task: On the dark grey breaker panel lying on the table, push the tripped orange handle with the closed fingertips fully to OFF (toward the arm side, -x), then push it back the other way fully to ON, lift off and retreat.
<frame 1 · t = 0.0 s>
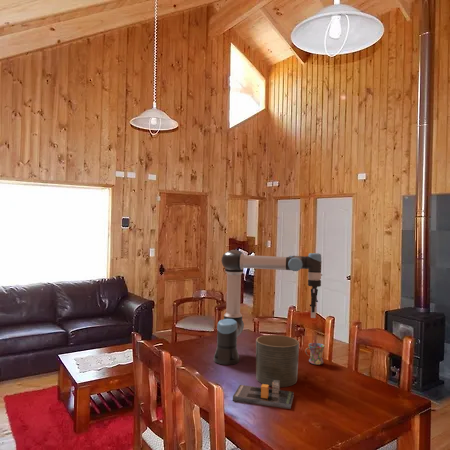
hand: (313, 315, 233), 28 cm above the table, fingers open, 13 cm apart
panel: (263, 398, 182), on the table
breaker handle: (264, 391, 178), point 5 cm above the table, slide at 1.0 cm
mug: (314, 363, 232), on the table
planter: (276, 379, 206), on the table
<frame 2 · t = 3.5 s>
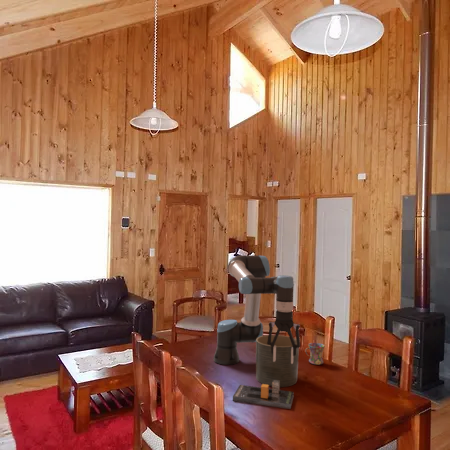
hand: (283, 361, 176), 19 cm above the table, fingers open, 7 cm apart
nothing on the table moved.
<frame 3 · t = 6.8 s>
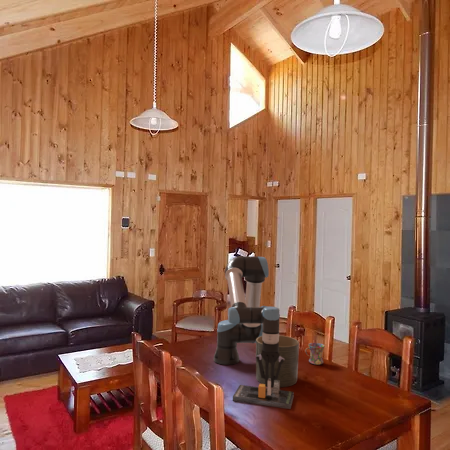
hand: (269, 394, 178), 4 cm above the table, fingers closed
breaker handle: (262, 390, 179), point 5 cm above the table, slide at -0.2 cm, touching gripper
everything else where it was.
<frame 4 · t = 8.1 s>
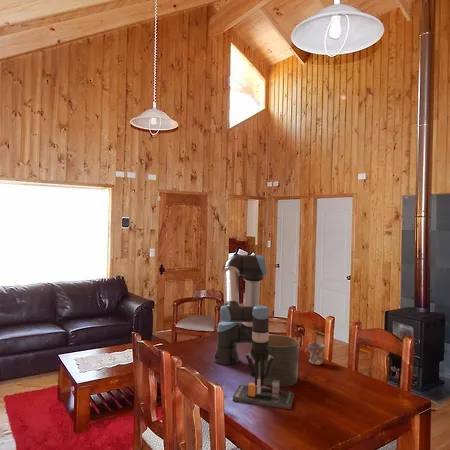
hand: (259, 392, 179), 4 cm above the table, fingers closed
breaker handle: (252, 389, 180), point 5 cm above the table, slide at -4.9 cm, touching gripper
everything else where it was.
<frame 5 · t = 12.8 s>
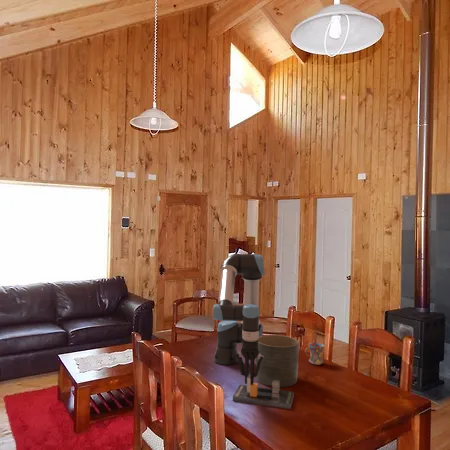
hand: (249, 390, 180), 4 cm above the table, fingers closed
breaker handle: (253, 389, 180), point 5 cm above the table, slide at -4.0 cm, touching gripper
everything else where it was.
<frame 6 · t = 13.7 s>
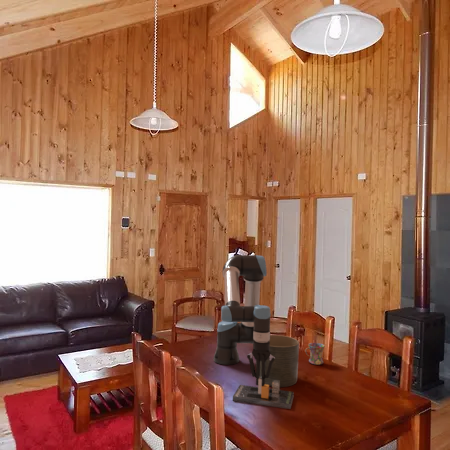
hand: (260, 392, 179), 4 cm above the table, fingers closed
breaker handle: (265, 391, 178), point 5 cm above the table, slide at 1.2 cm, touching gripper
everything else where it was.
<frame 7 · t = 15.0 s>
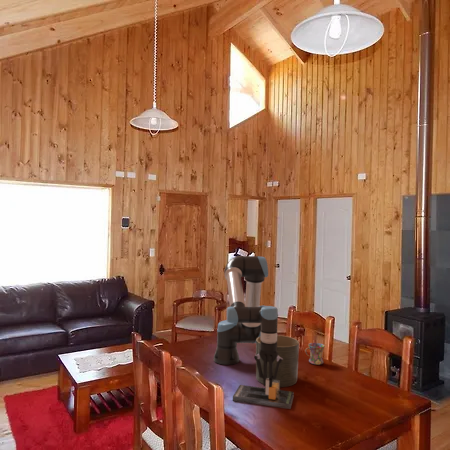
hand: (267, 393, 178), 4 cm above the table, fingers closed
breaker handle: (272, 392, 177), point 5 cm above the table, slide at 4.5 cm, touching gripper
everything else where it was.
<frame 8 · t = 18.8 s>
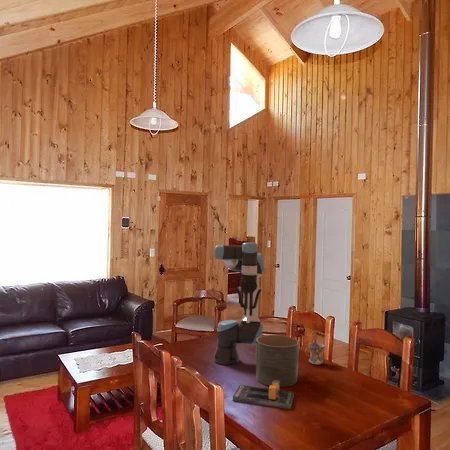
hand: (248, 322, 193), 32 cm above the table, fingers closed
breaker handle: (272, 392, 177), point 5 cm above the table, slide at 4.5 cm
everything else where it was.
at the end: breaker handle slide at 4.5 cm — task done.
